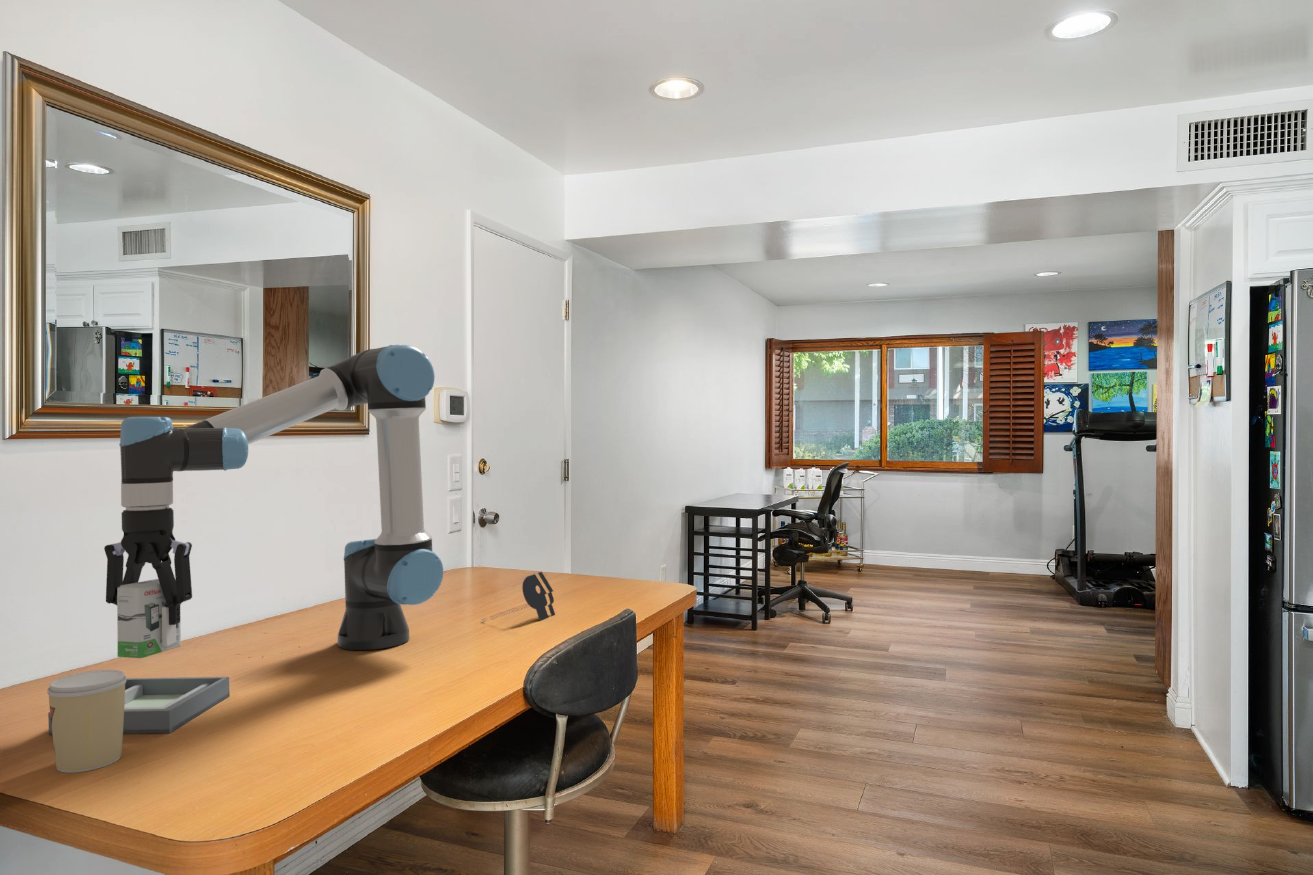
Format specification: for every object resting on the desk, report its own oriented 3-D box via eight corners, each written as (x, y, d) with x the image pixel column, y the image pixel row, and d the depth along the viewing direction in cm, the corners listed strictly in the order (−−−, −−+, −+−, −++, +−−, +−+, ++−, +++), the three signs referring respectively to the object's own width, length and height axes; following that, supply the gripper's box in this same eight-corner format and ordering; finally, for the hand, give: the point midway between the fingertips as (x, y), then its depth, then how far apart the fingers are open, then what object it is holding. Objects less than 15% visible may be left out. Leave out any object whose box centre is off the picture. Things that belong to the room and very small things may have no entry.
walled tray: (229, 696, 148) (229, 676, 148) (169, 732, 130) (169, 710, 130) (123, 697, 148) (122, 678, 148) (48, 734, 130) (48, 712, 130)
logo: (584, 604, 207) (569, 561, 209) (535, 624, 192) (520, 578, 194) (537, 619, 217) (523, 578, 218) (487, 640, 202) (473, 595, 203)
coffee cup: (75, 750, 123) (73, 670, 123) (141, 747, 124) (139, 667, 124) (33, 777, 114) (31, 689, 114) (105, 773, 114) (103, 686, 114)
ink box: (140, 659, 136) (138, 587, 136) (115, 657, 137) (114, 586, 137) (182, 646, 144) (181, 578, 144) (159, 644, 145) (158, 577, 145)
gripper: (215, 505, 144) (217, 637, 144) (107, 506, 144) (109, 639, 144) (190, 508, 137) (193, 649, 137) (76, 510, 137) (79, 650, 137)
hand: (150, 643), depth 141 cm, fingers closed on ink box, 6 cm apart
